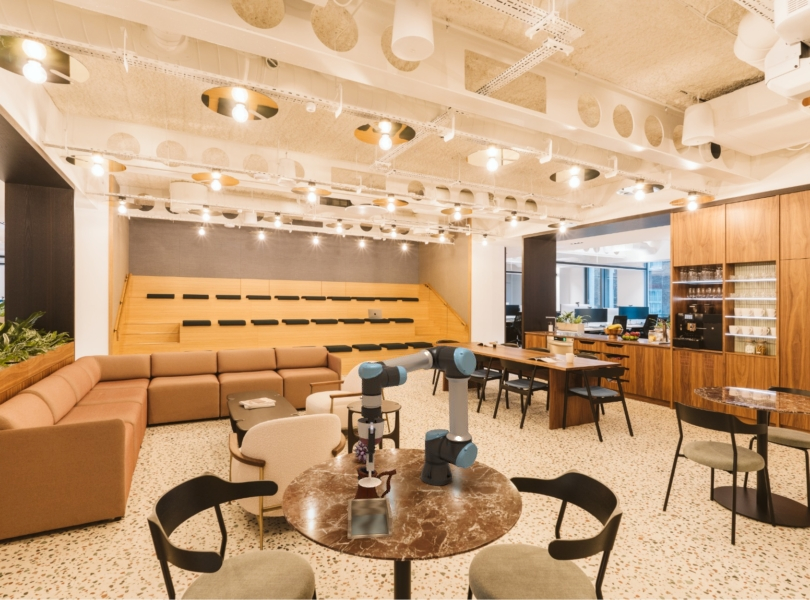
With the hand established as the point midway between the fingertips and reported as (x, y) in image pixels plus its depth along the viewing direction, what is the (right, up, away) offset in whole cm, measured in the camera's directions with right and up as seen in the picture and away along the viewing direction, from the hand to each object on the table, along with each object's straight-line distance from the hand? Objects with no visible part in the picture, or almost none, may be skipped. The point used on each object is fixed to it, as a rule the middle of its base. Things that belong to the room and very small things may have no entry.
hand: (370, 468), depth 153 cm
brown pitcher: (0, -23, +19) cm, 29 cm away
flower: (-9, -23, +64) cm, 68 cm away
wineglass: (0, -5, 0) cm, 5 cm away
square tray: (-1, -22, +1) cm, 22 cm away
